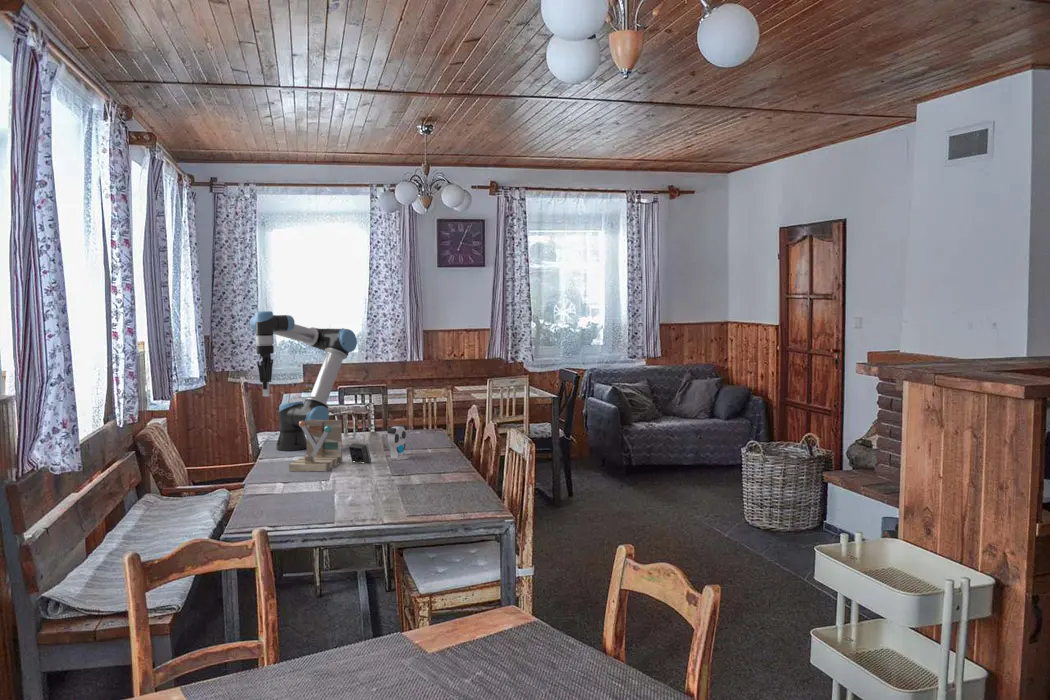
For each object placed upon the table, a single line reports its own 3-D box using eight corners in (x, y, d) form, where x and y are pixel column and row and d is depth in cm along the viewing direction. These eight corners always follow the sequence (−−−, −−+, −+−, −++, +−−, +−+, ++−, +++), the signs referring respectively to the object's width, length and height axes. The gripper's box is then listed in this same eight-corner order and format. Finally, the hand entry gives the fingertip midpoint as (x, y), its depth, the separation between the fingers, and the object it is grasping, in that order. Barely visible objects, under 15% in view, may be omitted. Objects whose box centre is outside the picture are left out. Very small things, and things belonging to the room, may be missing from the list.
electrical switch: (372, 462, 372) (370, 442, 370) (363, 465, 367) (362, 445, 366) (356, 460, 377) (355, 440, 375) (348, 463, 372) (346, 443, 371)
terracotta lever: (318, 455, 371) (299, 422, 371) (324, 451, 371) (304, 418, 371) (315, 456, 368) (296, 423, 368) (321, 452, 368) (302, 419, 368)
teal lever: (309, 457, 357) (328, 423, 356) (315, 461, 357) (334, 427, 355) (306, 458, 354) (325, 424, 352) (312, 462, 354) (331, 428, 352)
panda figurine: (402, 461, 374) (401, 428, 373) (379, 460, 377) (379, 427, 377) (413, 456, 385) (413, 424, 384) (392, 455, 389) (391, 423, 388)
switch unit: (308, 461, 376) (307, 419, 375) (342, 461, 375) (341, 419, 373) (289, 471, 353) (288, 427, 352) (325, 471, 352) (324, 427, 351)
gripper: (262, 344, 384) (264, 394, 385) (250, 345, 371) (252, 397, 372) (278, 344, 383) (279, 394, 384) (267, 345, 370) (268, 397, 372)
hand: (266, 396), depth 378 cm, fingers closed
